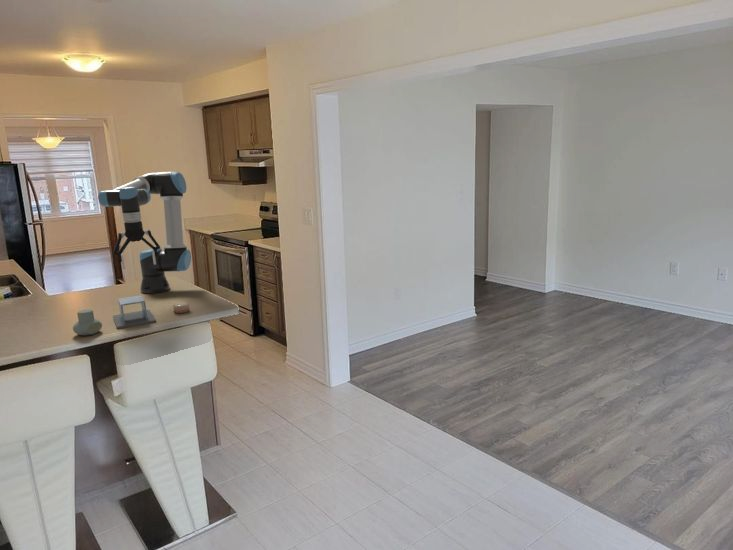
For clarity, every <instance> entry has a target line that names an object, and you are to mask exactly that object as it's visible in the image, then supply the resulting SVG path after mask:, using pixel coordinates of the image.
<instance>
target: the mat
mask: <svg viewBox="0 0 733 550" xmlns="http://www.w3.org/2000/svg"><path fill="white" fill-rule="evenodd" d="M146 311H147V319H146V318H145V316H144V315H143V313H142V310H139V311H132V312H126V313H124V320H125V323H123V321H122V318H121V315H120V313H119V314H114V315H112V318H114V319H113V321H114V324H115V327H116V329H117V330H120V329H126V328H132V327H136V326H143V325H147V324H148V325H149V324H153V323H157V319H156V318H155V316H154V315H153V313H152V311H151V310H150V309H146Z"/></svg>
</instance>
